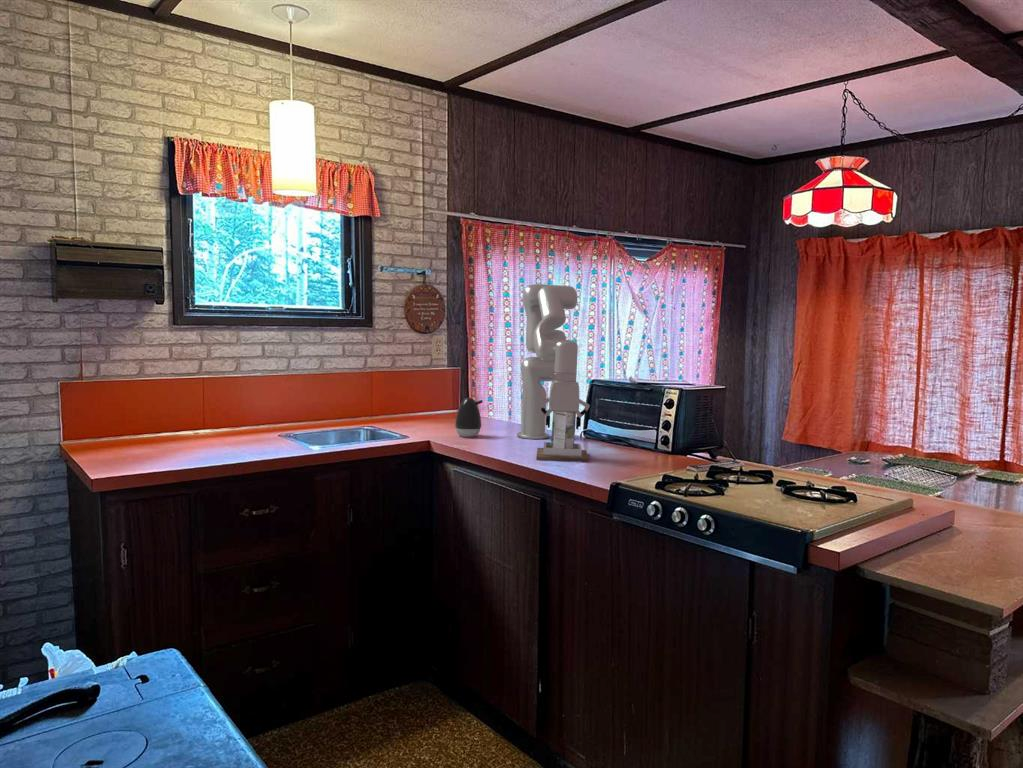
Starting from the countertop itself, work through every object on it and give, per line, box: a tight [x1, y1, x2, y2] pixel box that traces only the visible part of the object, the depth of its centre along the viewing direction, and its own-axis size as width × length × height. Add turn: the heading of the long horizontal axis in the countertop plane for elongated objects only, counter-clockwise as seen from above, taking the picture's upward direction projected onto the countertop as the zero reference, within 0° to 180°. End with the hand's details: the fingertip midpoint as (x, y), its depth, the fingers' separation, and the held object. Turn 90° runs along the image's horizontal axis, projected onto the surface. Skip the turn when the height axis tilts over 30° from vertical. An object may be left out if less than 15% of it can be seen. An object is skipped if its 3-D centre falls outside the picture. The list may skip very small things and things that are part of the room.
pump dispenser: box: [454, 397, 484, 438], centre depth 287 cm, size 10×10×15 cm
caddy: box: [535, 441, 589, 463], centre depth 251 cm, size 17×17×4 cm
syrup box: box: [550, 411, 577, 449], centre depth 250 cm, size 6×6×14 cm
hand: (562, 428), depth 250 cm, fingers open, 9 cm apart
